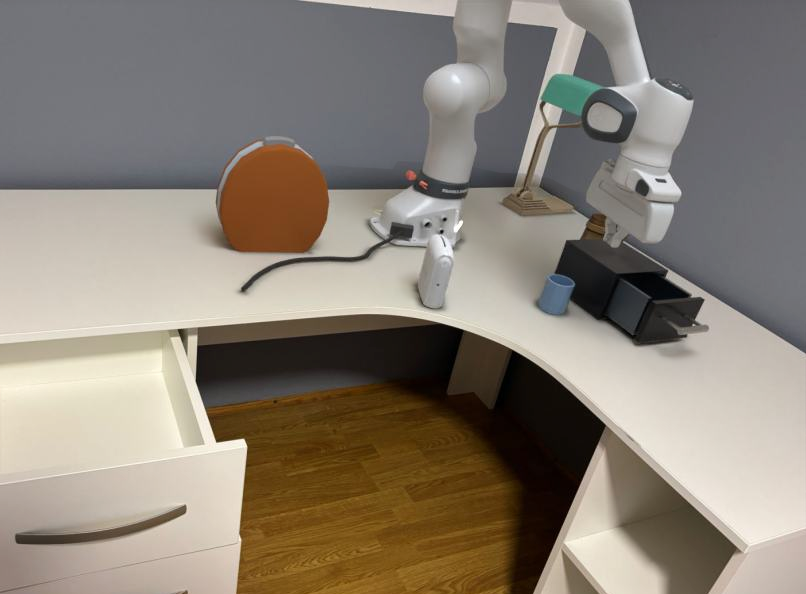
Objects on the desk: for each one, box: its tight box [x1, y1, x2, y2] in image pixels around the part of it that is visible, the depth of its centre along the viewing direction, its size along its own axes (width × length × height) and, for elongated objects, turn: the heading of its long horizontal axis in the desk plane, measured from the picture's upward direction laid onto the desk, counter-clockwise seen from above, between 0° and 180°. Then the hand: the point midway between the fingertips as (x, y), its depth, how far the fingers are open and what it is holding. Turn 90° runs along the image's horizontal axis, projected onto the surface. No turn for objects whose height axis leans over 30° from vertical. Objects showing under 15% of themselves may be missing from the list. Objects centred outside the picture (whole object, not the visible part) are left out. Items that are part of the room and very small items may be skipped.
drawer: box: [603, 274, 710, 344], centre depth 139 cm, size 20×13×9 cm
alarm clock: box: [215, 135, 330, 254], centre depth 143 cm, size 22×10×23 cm, turn 108°
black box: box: [554, 239, 669, 320], centre depth 150 cm, size 16×15×11 cm
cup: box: [537, 273, 575, 316], centre depth 143 cm, size 6×6×6 cm
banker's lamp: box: [501, 73, 606, 217], centre depth 190 cm, size 16×21×35 cm
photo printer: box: [417, 234, 455, 309], centre depth 137 cm, size 10×4×12 cm, turn 3°
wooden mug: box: [579, 212, 631, 243], centre depth 165 cm, size 9×14×18 cm, turn 77°
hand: (610, 244), depth 134 cm, fingers closed
